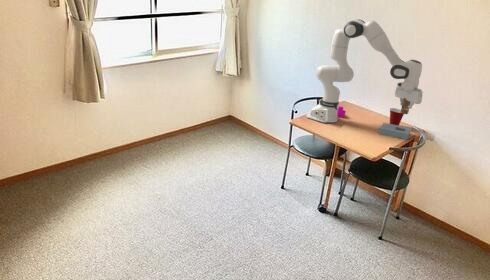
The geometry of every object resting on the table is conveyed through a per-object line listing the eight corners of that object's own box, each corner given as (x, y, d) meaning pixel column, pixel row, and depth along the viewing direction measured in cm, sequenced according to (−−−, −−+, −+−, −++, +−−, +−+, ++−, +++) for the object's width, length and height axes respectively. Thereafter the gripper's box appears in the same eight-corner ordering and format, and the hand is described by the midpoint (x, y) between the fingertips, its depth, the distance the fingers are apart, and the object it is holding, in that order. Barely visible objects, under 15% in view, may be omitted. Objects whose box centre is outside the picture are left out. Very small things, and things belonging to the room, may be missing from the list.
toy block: (344, 116, 289) (346, 107, 286) (337, 116, 287) (338, 107, 284) (334, 110, 302) (336, 101, 299) (327, 110, 300) (329, 101, 297)
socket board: (378, 133, 258) (379, 127, 257) (382, 128, 270) (383, 122, 269) (407, 140, 251) (408, 134, 249) (409, 134, 262) (411, 128, 261)
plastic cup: (405, 127, 274) (409, 111, 270) (393, 129, 270) (397, 112, 265) (394, 122, 283) (398, 107, 279) (382, 123, 279) (386, 107, 275)
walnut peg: (400, 113, 253) (403, 98, 249) (401, 111, 256) (405, 97, 252) (406, 114, 251) (410, 99, 247) (408, 113, 254) (411, 98, 250)
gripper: (426, 89, 239) (421, 111, 244) (402, 82, 257) (398, 102, 262) (419, 90, 237) (413, 111, 242) (395, 82, 254) (391, 102, 259)
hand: (405, 106), depth 252 cm, fingers closed on walnut peg, 5 cm apart
